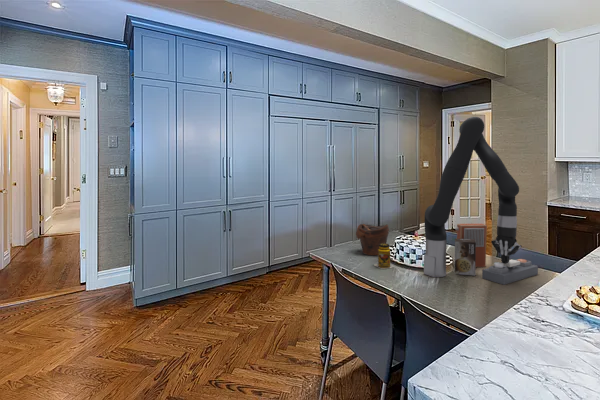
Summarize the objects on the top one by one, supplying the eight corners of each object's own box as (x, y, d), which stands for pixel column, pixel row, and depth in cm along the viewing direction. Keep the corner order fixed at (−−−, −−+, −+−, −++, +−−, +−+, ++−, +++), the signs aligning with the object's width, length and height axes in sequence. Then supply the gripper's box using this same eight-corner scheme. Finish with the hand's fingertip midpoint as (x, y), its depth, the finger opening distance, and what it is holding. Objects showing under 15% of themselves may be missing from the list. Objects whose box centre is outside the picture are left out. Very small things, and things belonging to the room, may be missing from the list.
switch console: (504, 284, 145) (504, 271, 145) (482, 278, 154) (482, 265, 154) (537, 274, 157) (538, 262, 157) (515, 268, 166) (516, 257, 165)
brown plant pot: (352, 249, 211) (352, 221, 209) (383, 248, 213) (383, 220, 211) (360, 257, 194) (360, 227, 191) (394, 256, 196) (394, 225, 194)
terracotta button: (523, 266, 157) (523, 261, 157) (515, 264, 160) (515, 259, 160) (528, 264, 159) (528, 260, 158) (520, 263, 162) (520, 258, 162)
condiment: (382, 269, 171) (382, 246, 170) (372, 265, 179) (372, 243, 177) (394, 267, 174) (394, 244, 172) (384, 263, 181) (384, 241, 180)
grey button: (500, 269, 149) (500, 264, 148) (492, 267, 152) (492, 262, 152) (505, 268, 150) (505, 263, 150) (497, 266, 153) (497, 261, 153)
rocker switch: (509, 267, 152) (509, 263, 151) (501, 265, 155) (501, 261, 155) (520, 264, 155) (520, 261, 155) (511, 262, 159) (511, 259, 159)
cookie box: (474, 272, 163) (475, 239, 161) (475, 276, 157) (476, 242, 156) (454, 270, 167) (454, 238, 165) (454, 273, 161) (454, 240, 159)
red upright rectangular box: (453, 263, 178) (483, 263, 176) (458, 267, 171) (489, 267, 169) (454, 223, 175) (484, 223, 174) (459, 225, 168) (490, 225, 167)
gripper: (487, 224, 155) (486, 260, 157) (517, 228, 144) (515, 268, 145) (497, 222, 159) (495, 258, 161) (527, 226, 147) (525, 265, 149)
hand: (505, 263), depth 153 cm, fingers closed
